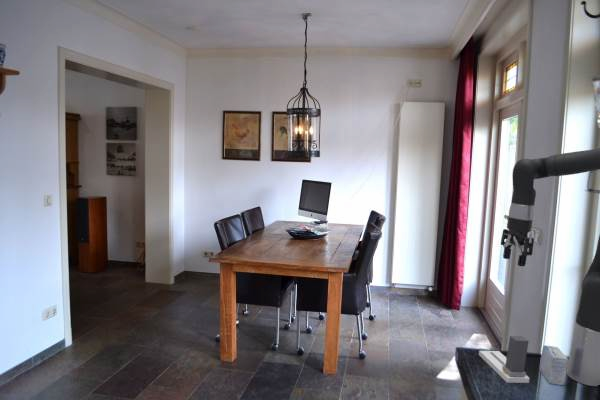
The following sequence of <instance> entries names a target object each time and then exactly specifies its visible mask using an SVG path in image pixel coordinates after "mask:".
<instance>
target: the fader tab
mask: <svg viewBox="0 0 600 400" xmlns="http://www.w3.org/2000/svg"><path fill="white" fill-rule="evenodd" d="M529 343H530V342H529V340H528V339H527V338H525V337H524V336H520V335H519V336H518V335H510V336H509V340H508V347H507V352H506V365H505V366H503V367H502V369H503V370H504V371H505V372H506V373H507V374H508V375H509V376H527V372H525V366H526V359H527V353H528V348H529Z"/></svg>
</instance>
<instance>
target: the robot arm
mask: <svg viewBox="0 0 600 400" xmlns="http://www.w3.org/2000/svg"><path fill="white" fill-rule="evenodd" d="M596 170H600V147H599V148H593V149H588V150H579V151H572V152H565V153H558V154H552V155H549V156H547V157H540V158H522V159H519V160H517V161H516V162H515V163H514V166H513V169H512V173H511V174H512V177H511V178H512V194H511V195H512V196H511V203H510V206H509V210H508V216H507V217H508V218H507V223H506V229H505V228H504V229H502V233H501V241H500V245H501V246H502V247H503V253H502V258H503V259H504V260H510V258H511V253H512V248H513V247H514V246H515V247H516V249H517V250H518V253H519V255H518V261H517V266H519V267H525V265H526V264H527V263H526V262H527V257H528V256H533V251H534V242H535V238H534V237H528V233H530V232H531V231H532V226H533V221H534V216H535V215H534V214H535V202H536V197H537V196H536V195H537V191H536V189H535V188H534V185H535V184H534V182H535V180H537V179H538V180H539V179H540V180H541V179H546V178H549V177H562V176H569V175H570V176H571V175H578V174H583V173H588V172H592V171H596ZM579 301H580V302H579V305H578V311H577V313H576V318H575V322H574V327H573V334H572V339H571V344H570V346H571V347H570V351H569V356H568V364H567V370H566V375H567V376H568V377H569V378H570V379H571V380H574V381H576V382H578V383H580V384H583V385H585V386H589V387H590V386H591V387H599V386H598V385H600V234H599V235H598V240H597V245H596V250H595V255H594V256H593V259H592V262H591V264H590V266H589V268H588V270H587V272H586V274H585V276H584V278H583V279H582V283H581V295H580V300H579Z"/></svg>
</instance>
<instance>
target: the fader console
mask: <svg viewBox="0 0 600 400" xmlns="http://www.w3.org/2000/svg"><path fill="white" fill-rule="evenodd" d="M478 356H479V357H480V358H482V360H483V361H484V362H485V363H486V364H487V365H488V366H490V368H492V370H494V372H495V373H497V375H499V377H501V378H502V380H504V381H505V383H508V384H510V383H511V384H512V383H515V384H519V383H520V384H530V377H529V376H528V375H526V376H509V375H508V374H507V373H506V372H505V371H504V370H503V369H502V367H503V366H505V365H506V358H507V356H505V355H504V354H503V353H502V352H501V351H499V350H479V351H478Z"/></svg>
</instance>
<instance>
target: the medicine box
mask: <svg viewBox="0 0 600 400" xmlns="http://www.w3.org/2000/svg"><path fill="white" fill-rule="evenodd" d="M542 346H543V347H542V350H541V356H540V362H539V371H540V373H541V374H542V376H543V377H544V378H545V379H546V381H547V383H548V384H553V385H559V386H564V385H565V383H566V381H565V380H566V375H567V373H566V372H567V366H568V360H569V358H568V357H567V356H566V355H565V353H563V352H562V350H561V348H559V347H557V346H553V345H552V346H551V345H542Z"/></svg>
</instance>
